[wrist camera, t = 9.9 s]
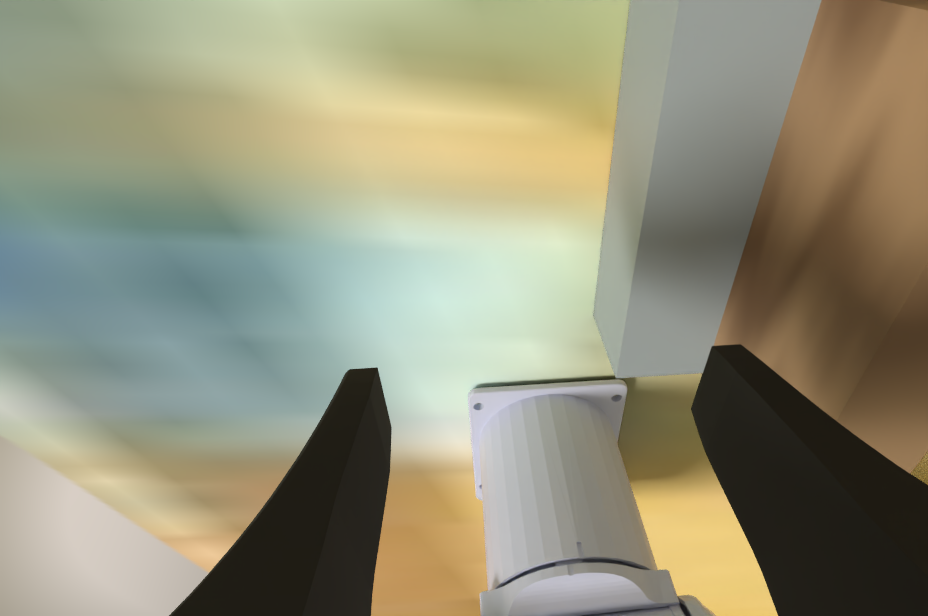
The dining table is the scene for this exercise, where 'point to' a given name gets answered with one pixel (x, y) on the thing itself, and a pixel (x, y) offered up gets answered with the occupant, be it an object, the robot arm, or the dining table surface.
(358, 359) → the dining table surface
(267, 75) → the dining table surface
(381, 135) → the dining table surface
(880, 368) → the long brown wooden post
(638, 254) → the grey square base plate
